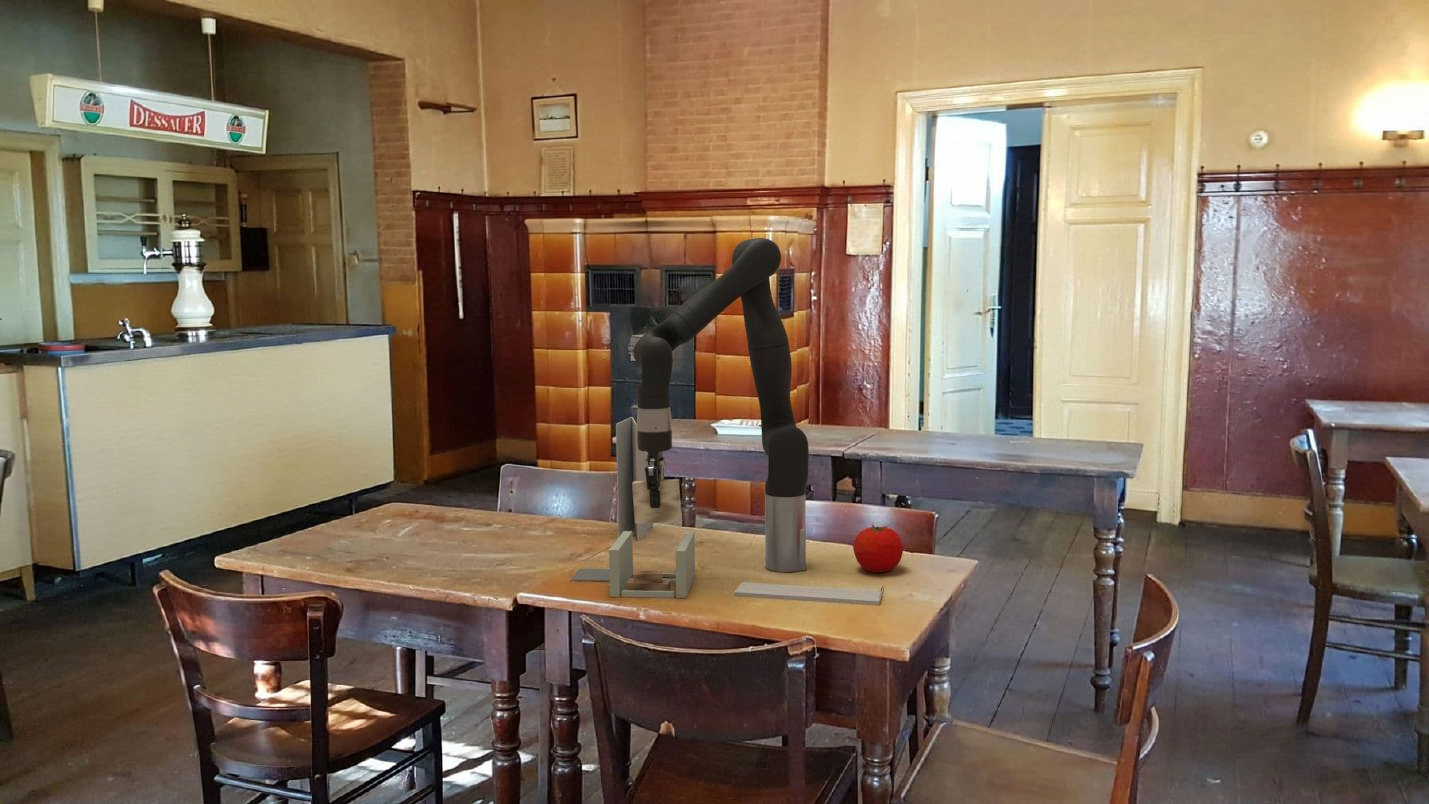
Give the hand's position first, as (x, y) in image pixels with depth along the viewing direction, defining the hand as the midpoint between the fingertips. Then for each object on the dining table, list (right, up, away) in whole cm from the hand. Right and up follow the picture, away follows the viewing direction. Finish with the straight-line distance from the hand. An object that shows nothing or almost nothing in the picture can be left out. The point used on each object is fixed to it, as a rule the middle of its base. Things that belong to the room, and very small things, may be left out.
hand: (656, 505), depth 228 cm
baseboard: (+33, -18, -9) cm, 39 cm away
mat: (-14, -16, +5) cm, 22 cm away
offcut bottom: (-1, -18, -9) cm, 20 cm away
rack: (0, -17, -3) cm, 17 cm away
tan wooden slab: (0, -3, 0) cm, 3 cm away
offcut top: (-1, -15, -9) cm, 18 cm away
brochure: (-8, -12, +45) cm, 47 cm away
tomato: (+50, -16, +8) cm, 53 cm away
